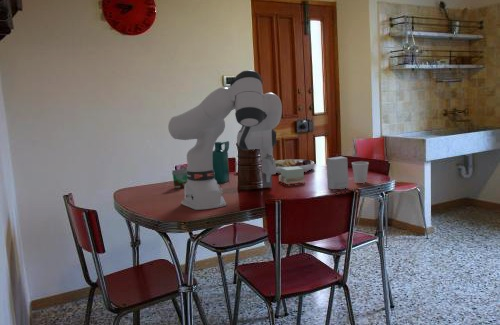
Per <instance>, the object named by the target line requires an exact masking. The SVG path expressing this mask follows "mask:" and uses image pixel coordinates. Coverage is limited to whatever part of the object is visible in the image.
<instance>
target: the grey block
mask: <svg viewBox="0 0 500 325" xmlns="http://www.w3.org/2000/svg"><path fill="white" fill-rule="evenodd" d="M272 175H273V174H272ZM272 175H271V177H270V182H266V180H265V178H266V173H264V174H263V175H262V178H263V188H264V189H265V188H270V187H271V188H272V187H273V177H272Z"/></svg>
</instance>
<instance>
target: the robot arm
mask: <svg viewBox="0 0 500 325" xmlns="http://www.w3.org/2000/svg"><path fill="white" fill-rule="evenodd" d="M229 86H230V87H218V88H216V89H215V90H213V91H212V92H211V93H209V94H208V95H207V96H206V97H205V98H204V99H203V100H202V101H201V102H200V103H199V104H198V105H196V106H195V107H193V108H190V109H189V110H187V111H185V112H183V113H180V114H178V115H175V116H172V117H171V118H170V120H169V121H168V133H169V134H170V136H171V137H172V138H173V139H175V140H181V141H189V140H196V143H195V145H194V146H193V147H192V148H190V149H189V150H188V152H187V153H186V163H187V166H186V167H187V169H188V171H187V183H186V184H185V185H184V188H183V189H184V190H183V191H184V200H181V201H180V202H181V205H183V206H186V207H188V208H190V209H192V210H198V211H199V210H201V211H202V210H210V209H211V210H212V209H217V208H222V207H225V206H227V202H226V201H225V199H224V197H223V196H222V194H224V190H223V187H222V188H221V186H220V184H219V183H217V181H216V180H215V173H214V169H213V162H212V153H213V151H214V148H215V142H217V140H218V139H219V137H221V135H222V134H223V133H224V131H225V128H226V122H225V119H226V118H227V117H228V116H229V115H230V113H231V112H232V111H233V110H235V113H234V114H235V115H234V117H235V119H236V123H238V124H239V125H240V126H241V127H240V130H239V131H238V132H237V135H236V144H237V147H239V149H241V150H242V151H251V150H255V149H260V153H261V160H262V172H263V174H264V173H266V178H265V180H266V182H270V177H271V175H277V174H276V163H275V161H276V159H275V158H274V149H273V148H275V146H276V145H277V143H278V141H277V131H276V130H275V128H277V126H278V125H279V123H280V122H281V119H282V114H283V104H282V101H281V99H280V97H279V96H278V95H277V94H275V93H273V92H266V93H264V89H263V79H262V76H261V75H260V73H258V72H257V71H255V70H251V69H250V70H249V69H247V70H242V71H241V72H239V73H238V74H237V75H235V77H234V78H233V79H231V80H230V83H229Z"/></svg>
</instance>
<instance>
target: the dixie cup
mask: <svg viewBox="0 0 500 325" xmlns="http://www.w3.org/2000/svg"><path fill="white" fill-rule="evenodd" d="M369 164H370V163H369V161H353V162H351V166H352V167H351V168H352V172H353V174H352V175H353V179H354V180H353V181H354V183H355V182H359V183H361V182H366V183H367V180H368V179H367V178H368V171H369Z"/></svg>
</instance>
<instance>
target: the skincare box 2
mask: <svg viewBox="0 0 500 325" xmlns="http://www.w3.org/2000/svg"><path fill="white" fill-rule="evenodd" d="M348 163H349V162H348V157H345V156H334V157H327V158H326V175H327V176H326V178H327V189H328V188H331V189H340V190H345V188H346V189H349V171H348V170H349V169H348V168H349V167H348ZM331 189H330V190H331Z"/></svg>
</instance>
